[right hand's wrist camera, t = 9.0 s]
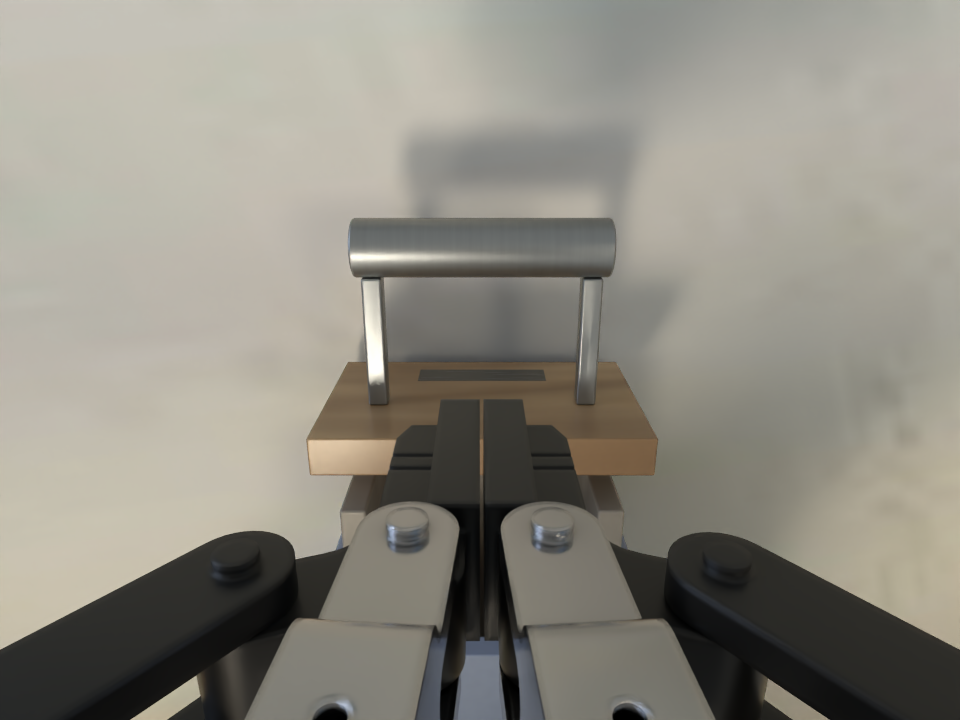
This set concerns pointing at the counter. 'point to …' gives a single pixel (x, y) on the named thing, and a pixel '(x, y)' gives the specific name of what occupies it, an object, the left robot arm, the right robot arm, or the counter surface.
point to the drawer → (542, 385)
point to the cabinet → (480, 677)
